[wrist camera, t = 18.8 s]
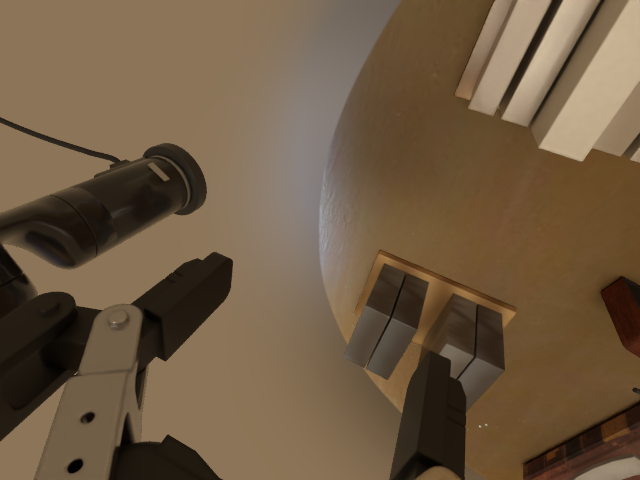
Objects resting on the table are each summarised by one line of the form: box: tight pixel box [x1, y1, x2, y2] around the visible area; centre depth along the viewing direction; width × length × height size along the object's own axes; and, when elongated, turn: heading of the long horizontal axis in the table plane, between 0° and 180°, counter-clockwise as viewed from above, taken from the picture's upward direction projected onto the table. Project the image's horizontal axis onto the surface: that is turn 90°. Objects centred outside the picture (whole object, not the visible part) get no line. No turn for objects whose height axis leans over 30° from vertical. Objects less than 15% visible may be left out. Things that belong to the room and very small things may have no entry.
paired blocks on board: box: [343, 250, 516, 412], centre depth 43 cm, size 18×12×10 cm, turn 77°
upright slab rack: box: [454, 0, 640, 163], centre depth 24 cm, size 14×12×12 cm
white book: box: [529, 0, 640, 161], centre depth 22 cm, size 2×10×15 cm, turn 167°
